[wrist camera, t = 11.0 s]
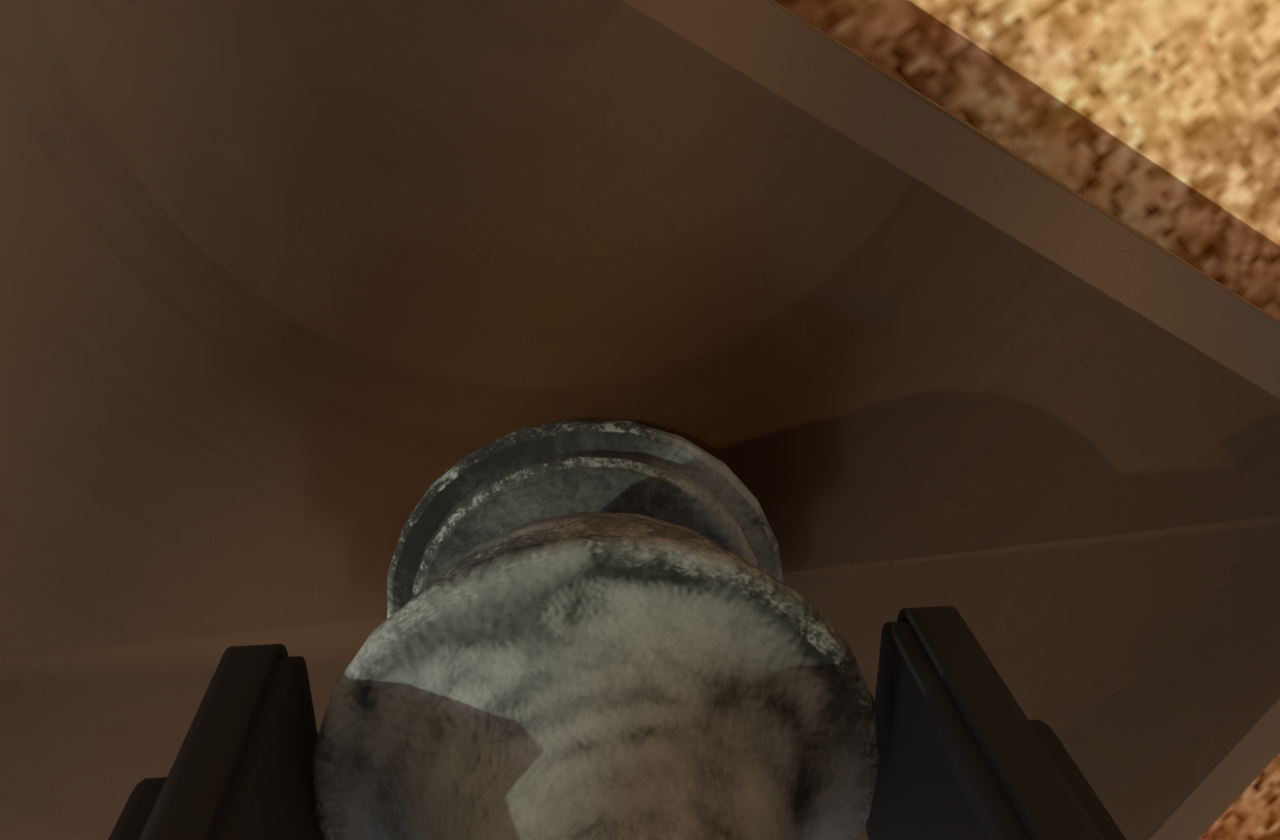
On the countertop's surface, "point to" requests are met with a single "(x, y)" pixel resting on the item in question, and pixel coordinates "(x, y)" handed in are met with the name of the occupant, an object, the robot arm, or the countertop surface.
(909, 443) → the board
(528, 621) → the stone chess piece
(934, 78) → the countertop surface
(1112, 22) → the countertop surface
